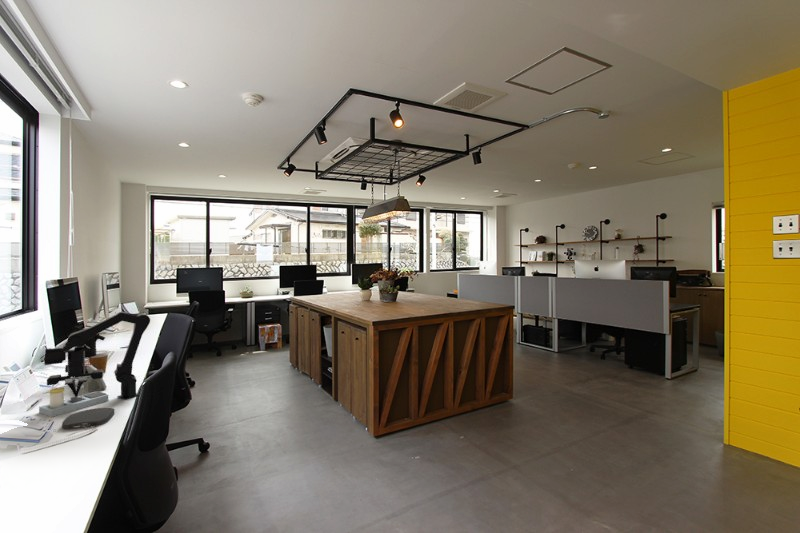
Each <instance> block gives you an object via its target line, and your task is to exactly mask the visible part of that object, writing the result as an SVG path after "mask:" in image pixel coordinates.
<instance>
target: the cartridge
mask: <svg viewBox="0 0 800 533" xmlns="http://www.w3.org/2000/svg"><path fill="white" fill-rule="evenodd" d="M48 391H49V404H50V408H51V409H54V408H58V407H61V406H64V400H65V394H64V392H65V387H55V388H50V389H49V390H48Z"/></svg>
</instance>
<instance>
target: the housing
mask: <svg viewBox="0 0 800 533" xmlns="http://www.w3.org/2000/svg"><path fill="white" fill-rule="evenodd" d="M94 392H95V391H91V392H89V393H88V394H90V393H94ZM86 394H87V393H85V394H82V401H78V402H75V403H71V397H70V398H67V399H64V406H61V407H58V408H54V409H51V408H50V403H49V404H45V405H41V406H39V407H38V413H39V414H42V415H45V416H48V417H51V418H53V417H56V416H59V415H62V414H66V413H70V412H73V411H77V410H80V409H83V408H86V407H90V406H93V405H97V404H101V403H103V402H106V401H107V402H108V401H109V394H107V393H106V395H102V396H99V397H95V398H92V399H91V398H88V397H85V396H83V395H86Z"/></svg>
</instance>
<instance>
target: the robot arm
mask: <svg viewBox="0 0 800 533" xmlns="http://www.w3.org/2000/svg"><path fill="white" fill-rule="evenodd" d="M121 322H125V323H129V324H133V331H132V334H131V336H130V340H129V342H128V346H127V348H126V351H125V354H124V357H123V360H122V362H121V363H117V364H116V368H115V370H114V371H113V373H114V376H115V379H116V382H118V383H120V395H117V398H119V399H122V400H128V399H131V398H136V397H138V396H137V394H139V393H137V378H136V376H135V375H134V374H133V373H132V372H133V364H134V359H135V357H136V354H137V352H138V348H139V345H140V342H141V339H142V337H143V334H144V333H145V331H146V330H147V329H148V327H149V325H150V323H151V318H150V316H148V315H147V314H146V313H143V312H141V313H138V314H136V313H131V312H130V313H129V312H124V311H119V312H118V313H116V314H114V315H112V316H110V317H108V318H106V319H104V320H102V321H100V322H98V323H97V324H94V325H92V326H90V327H88V328H83V330H80V331H77V330H76V331H74V332H72V333H70V335H68V338H67V339H66V340H67V341H66V342H65V344H63V345H62V347H56V348H51V347H50V348H45V352H44V358H43V359H44V366H48V365H49V366H50V365H57V364H58V365H59V364H63V362H64V361H67V364H65V368H64V372H65V373H67V375H64V376H62V374H53V375H50V376H49V377H48V378H47V379H46V386H53V385H58V384H59V383H60V382H64V385H66V386H68V387H69V388H70V389H71V390H70V391H71V392H72V393H73V395H74V396H75V397H77V396H78V395H80V394H79V393H80V391H81V388H82V386H83V385H84V382H86V381H87V379H88V377H91V378H93V379H99V378H103V379H104V373H103V370H102V369H101V370H93V371H92V373H86V374H85V372H86V367H85V366H86V365H85V364H86V363H85V362H86V359H85V351H86V350H90V347H88V346H86V344H85V345H84V346H82V347H78V346H81V345H82V344H84V343H85V342H86V341H88V340H89V339H90V338H92V337H93V336H94V335H96V334H100V333H101V332H102V333H103V332H104V331H105V330H108V329H110V328H112V327H113V326H115V325H117V324H119V323H121ZM73 348H74V349H73ZM66 354H67V356H66ZM66 359H67V360H66ZM79 376H80V377H79ZM76 380H78V381H77V385H76Z"/></svg>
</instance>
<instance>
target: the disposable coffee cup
mask: <svg viewBox="0 0 800 533" xmlns="http://www.w3.org/2000/svg"><path fill="white" fill-rule="evenodd" d="M109 355H110V354H109V351H108V350H96V356H93V357H91V365H96V366H97V370H101V369H102V370H103V374H105V373H106V371H107V370H106V369H107V364H108V358H109V357H108V356H109ZM88 358H89V360H90V357H88ZM89 364H90V362H89Z"/></svg>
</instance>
